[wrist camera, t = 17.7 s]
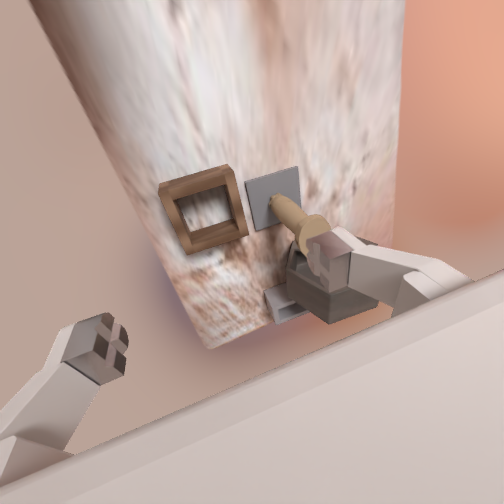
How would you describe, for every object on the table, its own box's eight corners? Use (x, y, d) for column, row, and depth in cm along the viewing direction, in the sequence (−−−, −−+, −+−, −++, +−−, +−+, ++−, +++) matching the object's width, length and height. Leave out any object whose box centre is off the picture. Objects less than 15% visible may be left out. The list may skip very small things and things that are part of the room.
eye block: (159, 183, 37) (158, 193, 33) (227, 163, 38) (233, 171, 34) (185, 241, 44) (186, 255, 40) (242, 222, 45) (249, 234, 41)
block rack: (263, 290, 57) (272, 308, 52) (364, 253, 60) (381, 266, 56) (267, 307, 61) (275, 325, 56) (362, 271, 64) (378, 285, 59)
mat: (244, 181, 41) (245, 182, 40) (296, 166, 42) (298, 167, 41) (255, 228, 47) (256, 230, 46) (300, 214, 48) (301, 215, 47)
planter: (374, 229, 50) (390, 301, 34) (369, 257, 54) (381, 332, 39) (296, 227, 55) (279, 289, 40) (297, 253, 60) (282, 317, 44)
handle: (268, 219, 46) (302, 262, 34) (260, 189, 42) (296, 226, 30) (290, 210, 46) (332, 249, 34) (284, 180, 42) (329, 212, 30)
